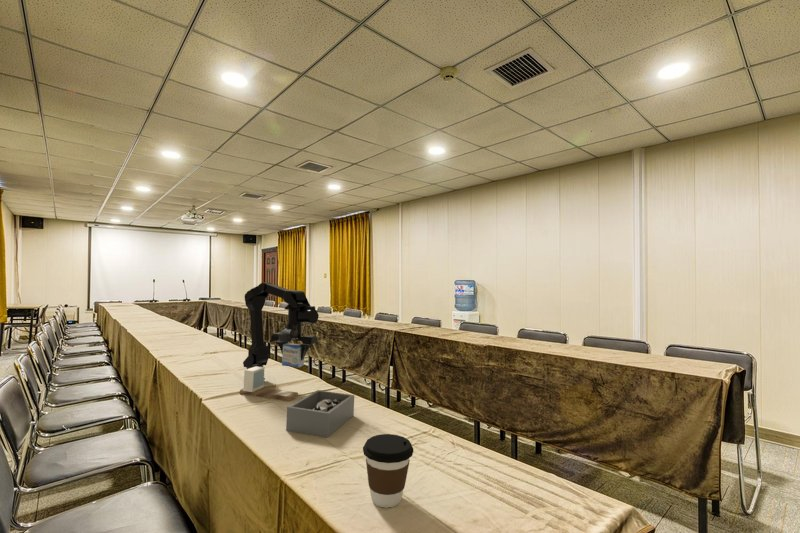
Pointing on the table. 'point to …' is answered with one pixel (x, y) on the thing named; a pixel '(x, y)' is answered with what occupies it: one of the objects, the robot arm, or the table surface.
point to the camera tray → (319, 414)
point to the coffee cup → (387, 467)
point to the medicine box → (292, 355)
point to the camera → (326, 405)
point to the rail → (272, 394)
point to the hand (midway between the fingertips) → (293, 359)
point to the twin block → (253, 378)
